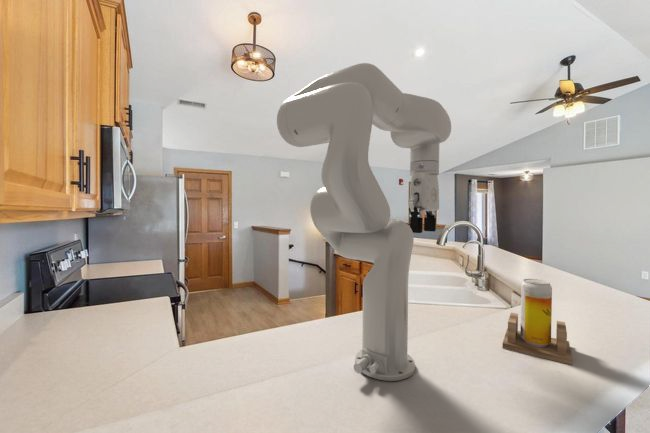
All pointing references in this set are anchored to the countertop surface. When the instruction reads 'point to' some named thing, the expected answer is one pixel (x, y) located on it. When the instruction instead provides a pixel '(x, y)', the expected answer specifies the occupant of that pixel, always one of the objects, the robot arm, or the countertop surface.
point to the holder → (553, 351)
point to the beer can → (536, 312)
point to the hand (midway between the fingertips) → (423, 231)
